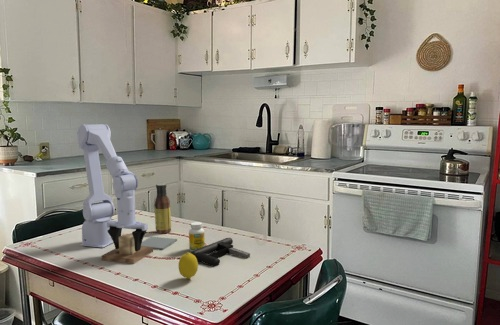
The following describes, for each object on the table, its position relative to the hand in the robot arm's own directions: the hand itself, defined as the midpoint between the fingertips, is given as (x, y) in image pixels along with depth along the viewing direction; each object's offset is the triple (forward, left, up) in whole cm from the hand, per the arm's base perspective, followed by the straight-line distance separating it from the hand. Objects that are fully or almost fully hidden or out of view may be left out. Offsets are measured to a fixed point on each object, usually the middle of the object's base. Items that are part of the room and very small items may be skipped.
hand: (127, 249), depth 135 cm
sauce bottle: (-2, +28, -2) cm, 28 cm away
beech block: (0, 0, -2) cm, 2 cm away
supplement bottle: (+20, +12, -2) cm, 23 cm away
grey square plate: (+3, +14, -2) cm, 14 cm away
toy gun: (+31, +9, -3) cm, 33 cm away
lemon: (+28, -12, -2) cm, 31 cm away
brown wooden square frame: (0, 0, -2) cm, 2 cm away
